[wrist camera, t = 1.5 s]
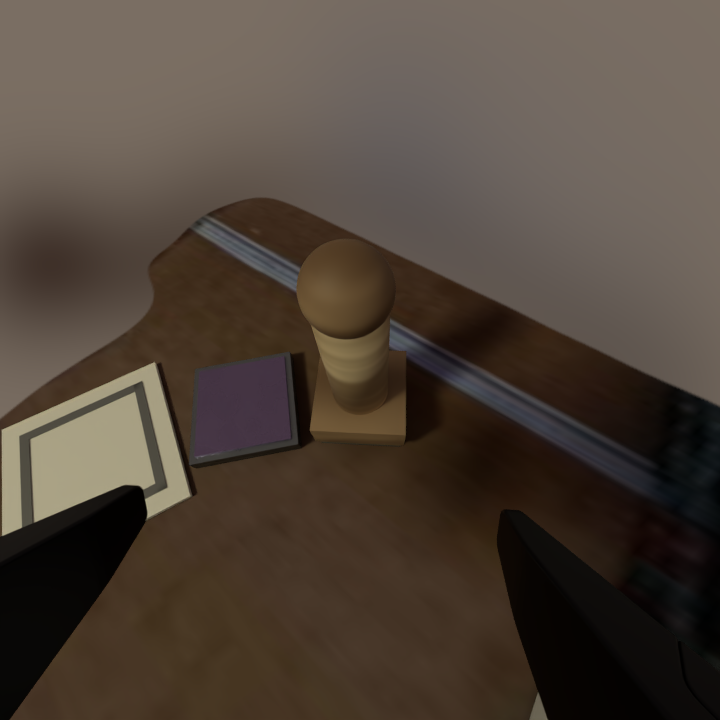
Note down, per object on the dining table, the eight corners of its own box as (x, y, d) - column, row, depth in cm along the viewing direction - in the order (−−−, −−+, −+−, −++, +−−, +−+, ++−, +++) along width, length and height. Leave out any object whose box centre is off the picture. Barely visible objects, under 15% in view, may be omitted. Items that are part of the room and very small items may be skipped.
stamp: (403, 449, 23) (426, 323, 10) (318, 445, 23) (242, 319, 11) (403, 373, 25) (423, 199, 13) (327, 370, 26) (275, 200, 13)
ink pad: (301, 448, 23) (297, 443, 22) (196, 468, 23) (187, 464, 22) (292, 358, 26) (289, 350, 25) (201, 375, 26) (193, 367, 25)
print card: (192, 496, 22) (189, 495, 22) (7, 593, 20) (1, 594, 20) (156, 364, 27) (154, 361, 27) (6, 431, 25) (0, 429, 25)
